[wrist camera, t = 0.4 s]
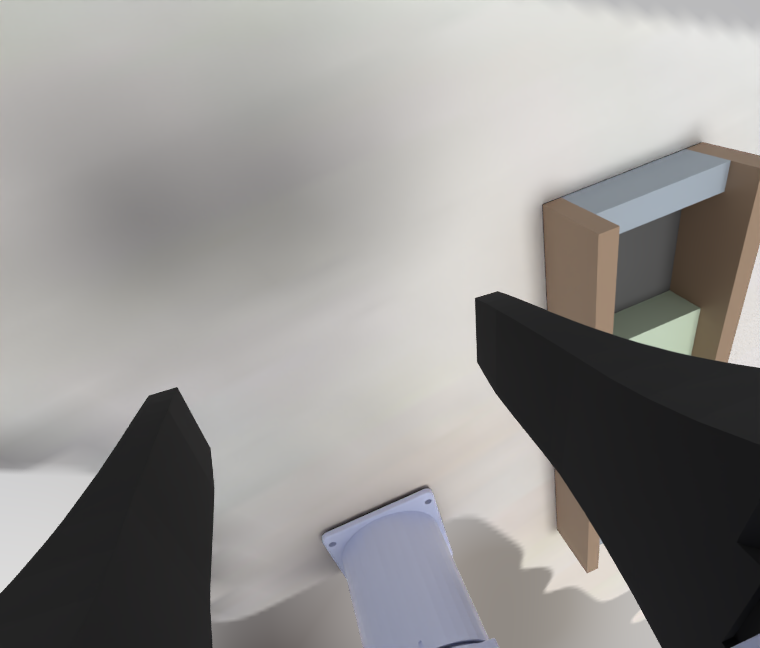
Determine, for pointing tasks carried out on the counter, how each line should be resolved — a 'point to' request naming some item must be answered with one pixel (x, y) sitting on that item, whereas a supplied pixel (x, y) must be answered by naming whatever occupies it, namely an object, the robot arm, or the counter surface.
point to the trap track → (654, 267)
